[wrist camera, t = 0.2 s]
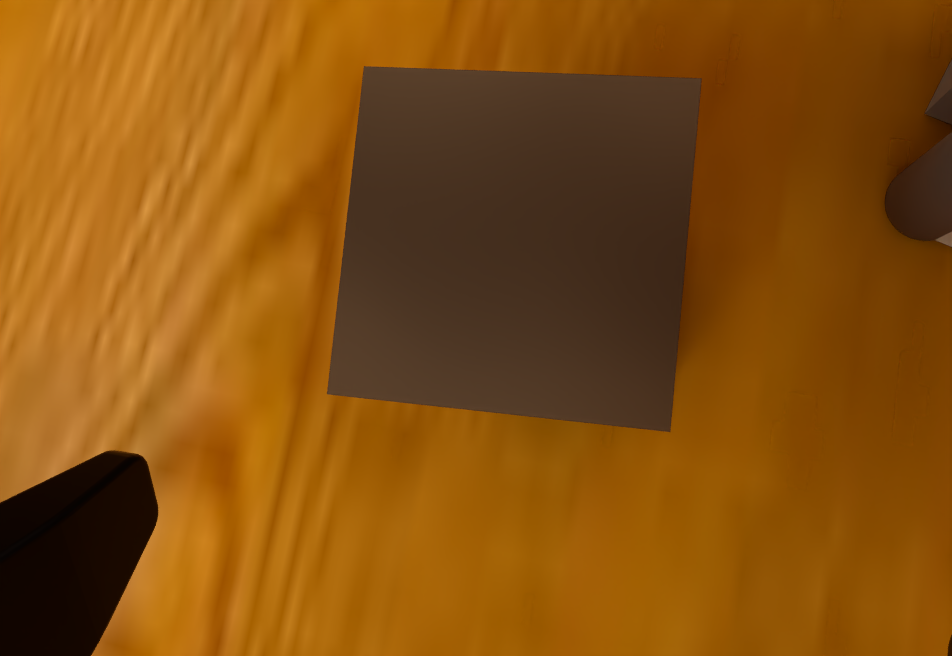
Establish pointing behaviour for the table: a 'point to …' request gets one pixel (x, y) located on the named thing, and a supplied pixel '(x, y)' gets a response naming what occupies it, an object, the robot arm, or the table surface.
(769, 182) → the table surface
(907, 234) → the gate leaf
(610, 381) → the doorstop post
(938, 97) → the gray upright block
